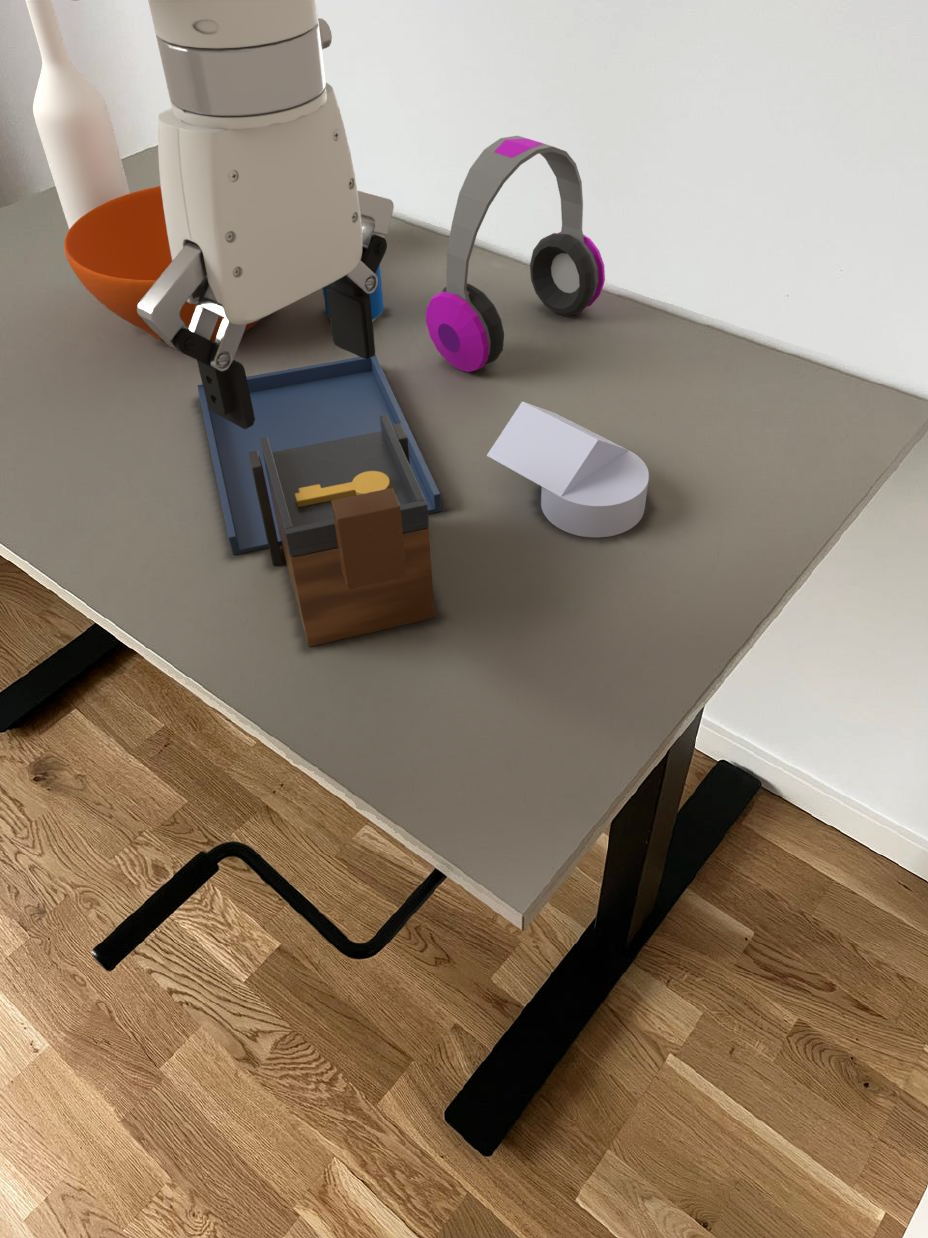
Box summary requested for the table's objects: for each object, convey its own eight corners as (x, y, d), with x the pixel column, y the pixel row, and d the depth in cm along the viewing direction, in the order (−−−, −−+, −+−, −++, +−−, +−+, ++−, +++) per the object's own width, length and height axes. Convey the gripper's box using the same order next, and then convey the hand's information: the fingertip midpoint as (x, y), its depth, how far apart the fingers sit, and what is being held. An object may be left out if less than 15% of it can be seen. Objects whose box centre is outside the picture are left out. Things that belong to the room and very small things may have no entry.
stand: (448, 614, 77) (443, 514, 70) (294, 650, 75) (272, 550, 67) (409, 520, 85) (401, 422, 78) (269, 549, 83) (247, 451, 76)
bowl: (60, 372, 104) (28, 282, 97) (125, 264, 122) (102, 181, 114) (297, 371, 103) (282, 280, 96) (327, 262, 121) (317, 178, 113)
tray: (441, 511, 86) (440, 493, 85) (232, 555, 82) (228, 537, 81) (376, 369, 103) (375, 353, 101) (201, 401, 99) (197, 385, 98)
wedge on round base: (486, 486, 88) (599, 552, 82) (486, 422, 83) (605, 487, 77) (553, 443, 93) (665, 502, 86) (556, 380, 88) (675, 438, 81)
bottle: (139, 269, 120) (62, -16, 99) (73, 273, 120) (-19, -12, 99) (150, 241, 126) (79, -35, 105) (86, 244, 126) (2, -31, 105)
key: (385, 473, 74) (384, 467, 73) (394, 495, 72) (393, 489, 71) (293, 492, 72) (292, 485, 72) (299, 515, 71) (298, 508, 70)
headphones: (548, 290, 114) (555, 104, 100) (609, 314, 110) (625, 123, 95) (420, 360, 104) (407, 164, 90) (480, 390, 99) (477, 189, 85)
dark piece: (450, 577, 66) (447, 496, 62) (304, 610, 65) (288, 529, 60) (389, 435, 78) (381, 358, 73) (264, 460, 76) (248, 382, 72)
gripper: (323, 16, 53) (355, 309, 65) (42, 103, 44) (140, 424, 56) (425, 40, 50) (439, 345, 62) (142, 140, 41) (224, 474, 53)
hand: (296, 383), depth 59 cm, fingers open, 9 cm apart
